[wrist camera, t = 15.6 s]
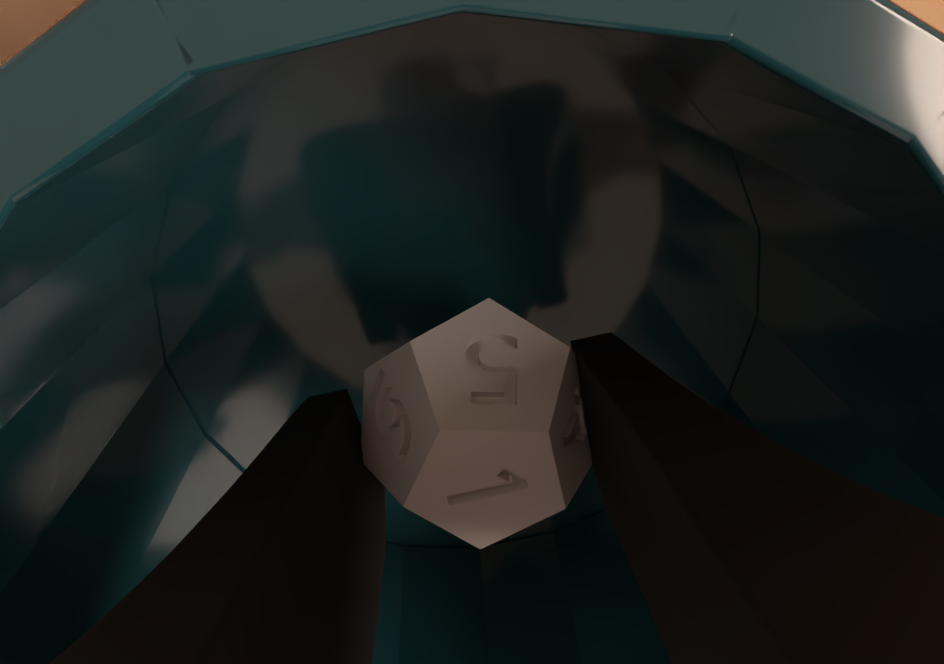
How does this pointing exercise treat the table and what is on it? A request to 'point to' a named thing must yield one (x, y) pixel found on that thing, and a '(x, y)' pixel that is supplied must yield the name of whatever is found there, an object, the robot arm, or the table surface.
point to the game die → (477, 424)
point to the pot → (449, 267)
